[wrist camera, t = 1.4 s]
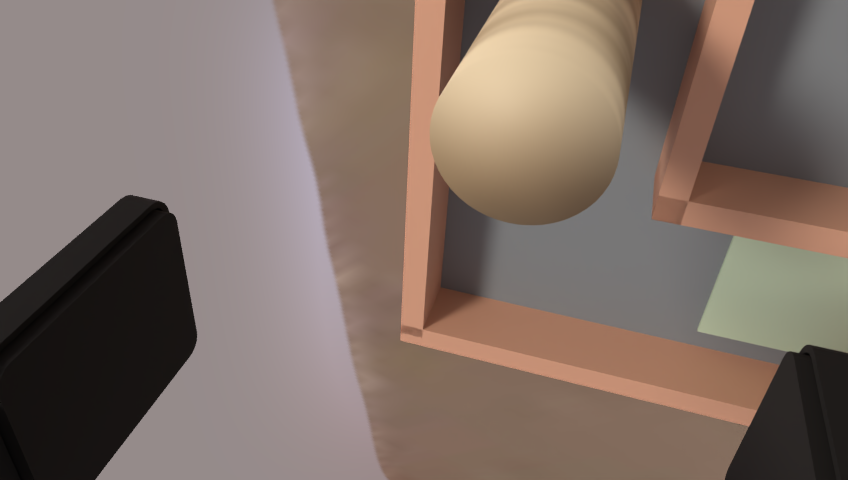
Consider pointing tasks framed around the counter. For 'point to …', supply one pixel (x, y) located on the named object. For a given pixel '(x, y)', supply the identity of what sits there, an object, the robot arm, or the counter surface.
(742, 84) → the track
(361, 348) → the counter surface
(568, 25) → the peg
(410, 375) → the counter surface
